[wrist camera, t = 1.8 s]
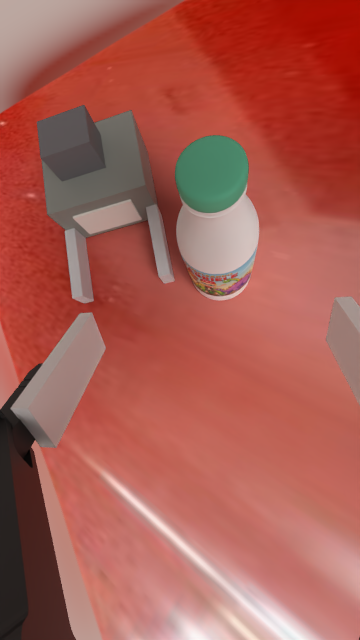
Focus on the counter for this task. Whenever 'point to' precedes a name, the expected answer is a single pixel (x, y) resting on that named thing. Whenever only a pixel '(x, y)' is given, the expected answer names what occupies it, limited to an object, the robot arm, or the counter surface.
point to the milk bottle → (216, 216)
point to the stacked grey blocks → (98, 186)
